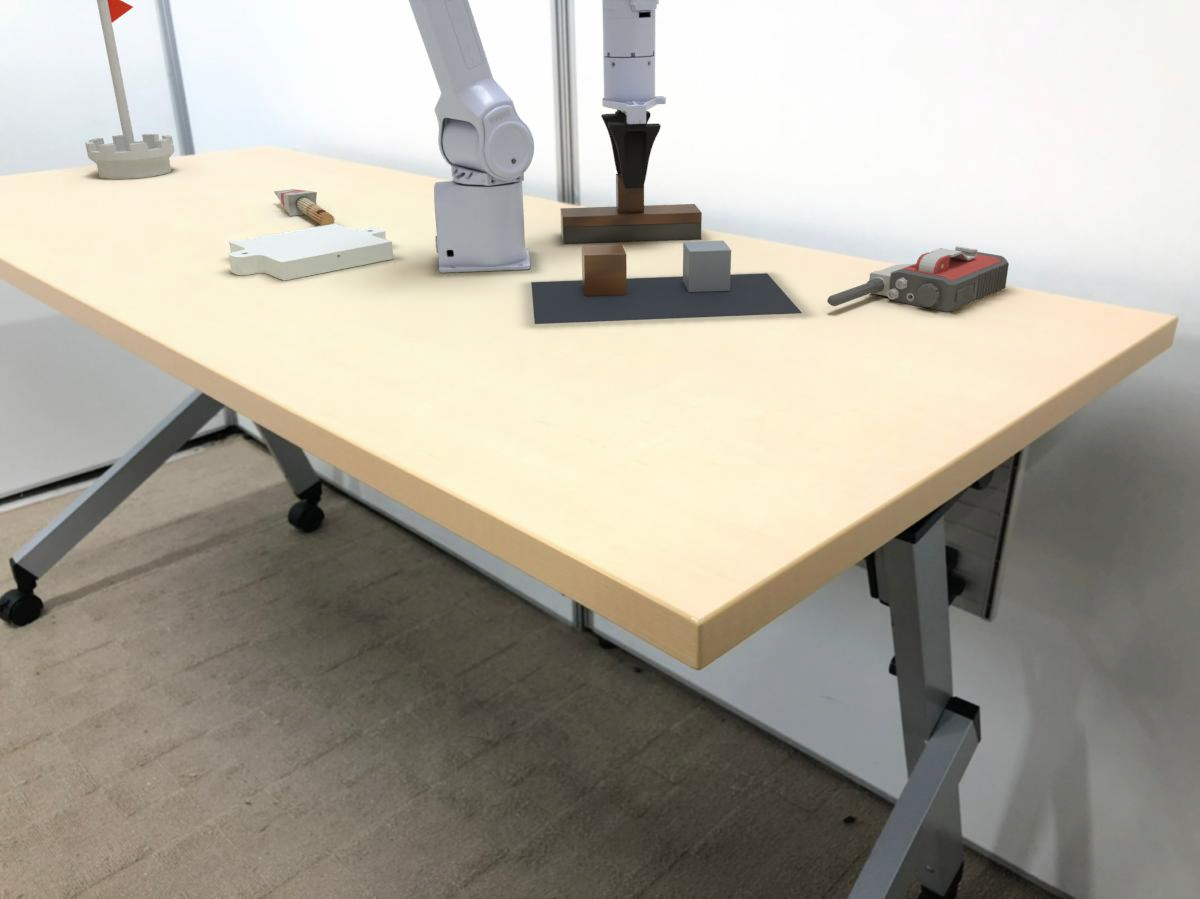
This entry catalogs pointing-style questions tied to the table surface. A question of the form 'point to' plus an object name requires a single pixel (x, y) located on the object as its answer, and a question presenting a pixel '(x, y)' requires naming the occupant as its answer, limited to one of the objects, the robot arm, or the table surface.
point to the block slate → (706, 266)
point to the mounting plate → (309, 251)
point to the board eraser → (630, 220)
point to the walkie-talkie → (936, 280)
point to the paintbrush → (304, 205)
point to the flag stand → (125, 120)
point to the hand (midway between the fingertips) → (630, 181)
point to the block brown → (604, 270)
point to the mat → (659, 300)
